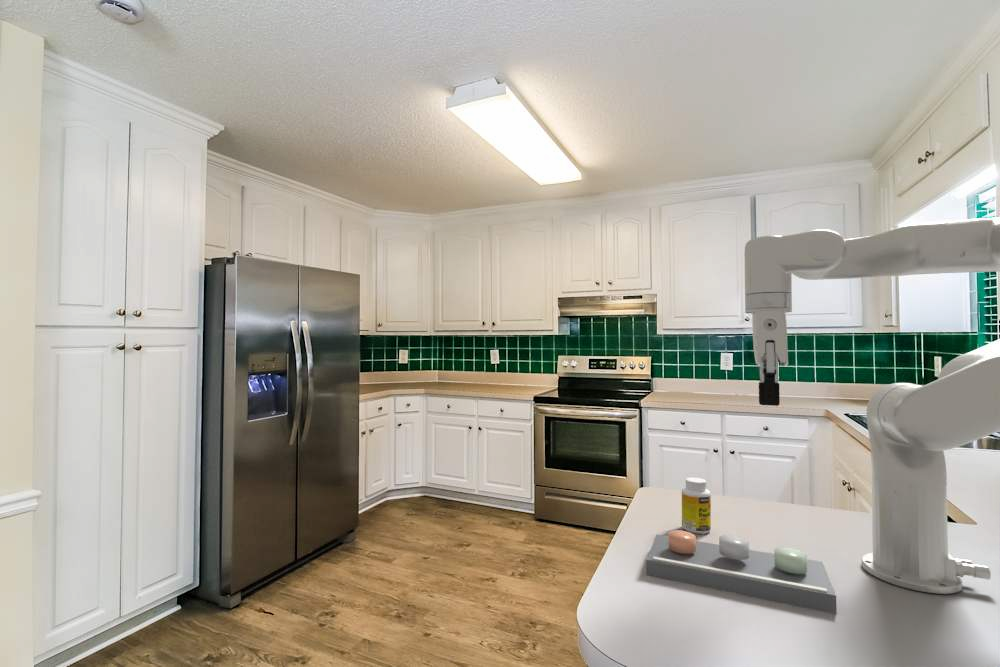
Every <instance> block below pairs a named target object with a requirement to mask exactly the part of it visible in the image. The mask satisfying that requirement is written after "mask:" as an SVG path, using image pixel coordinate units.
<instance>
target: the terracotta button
mask: <svg viewBox="0 0 1000 667" xmlns="http://www.w3.org/2000/svg"><path fill="white" fill-rule="evenodd" d="M667 536H668V547H669V549H671V550H672V551H675V552H678V553H683V554H691V553H694V552H695V551H696V541H697V537H696V535H695V533H691V532H688V531H686V530H670V531H669V532H668V535H667Z"/></svg>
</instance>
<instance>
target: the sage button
mask: <svg viewBox="0 0 1000 667" xmlns="http://www.w3.org/2000/svg"><path fill="white" fill-rule="evenodd" d="M773 554H774V565H775V566H776V567H777V568H778V569H780V570H782V571H785V572H789V573H794V574H804V573H806V572H807V559H808V555H807V553H805V552H804V551H801V550H799V549H794V548H791V547H785V546H783V547H781V546H780V547H776V548H774V552H773Z"/></svg>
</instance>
